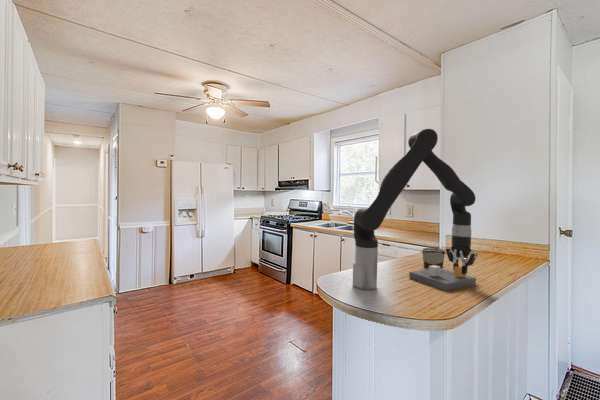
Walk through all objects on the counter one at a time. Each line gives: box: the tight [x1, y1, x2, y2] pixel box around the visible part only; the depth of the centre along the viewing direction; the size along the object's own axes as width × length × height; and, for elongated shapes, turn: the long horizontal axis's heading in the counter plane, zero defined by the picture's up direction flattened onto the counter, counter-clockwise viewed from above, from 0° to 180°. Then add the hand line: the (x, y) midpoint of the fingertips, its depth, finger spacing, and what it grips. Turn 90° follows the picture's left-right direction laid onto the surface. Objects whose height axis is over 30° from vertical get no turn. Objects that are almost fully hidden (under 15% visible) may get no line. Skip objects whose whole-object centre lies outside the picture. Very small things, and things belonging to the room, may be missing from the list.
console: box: [408, 268, 477, 292], centre depth 127 cm, size 20×19×3 cm
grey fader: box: [428, 265, 441, 277], centre depth 124 cm, size 4×3×4 cm
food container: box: [421, 247, 447, 269], centre depth 152 cm, size 12×6×10 cm, turn 84°
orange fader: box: [453, 265, 467, 277], centre depth 124 cm, size 4×3×4 cm
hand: (460, 272), depth 124 cm, fingers closed on orange fader, 3 cm apart
